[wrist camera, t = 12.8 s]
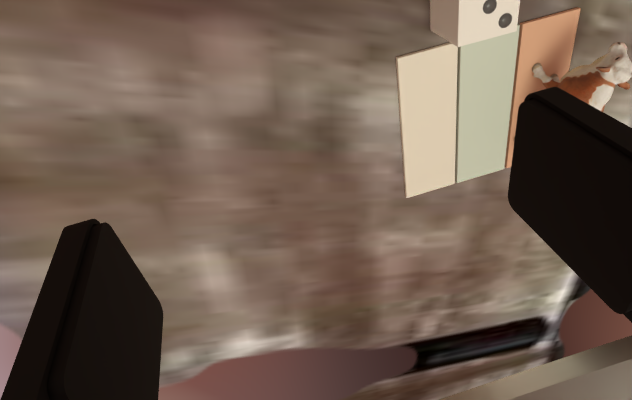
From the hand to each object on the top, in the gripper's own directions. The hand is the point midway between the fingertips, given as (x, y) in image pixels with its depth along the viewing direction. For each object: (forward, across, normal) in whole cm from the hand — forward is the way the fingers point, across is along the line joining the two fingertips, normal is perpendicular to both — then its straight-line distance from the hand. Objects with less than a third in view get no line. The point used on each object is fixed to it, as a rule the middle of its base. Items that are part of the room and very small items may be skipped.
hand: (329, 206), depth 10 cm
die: (+28, -18, +5) cm, 34 cm away
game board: (+28, -21, +17) cm, 39 cm away
